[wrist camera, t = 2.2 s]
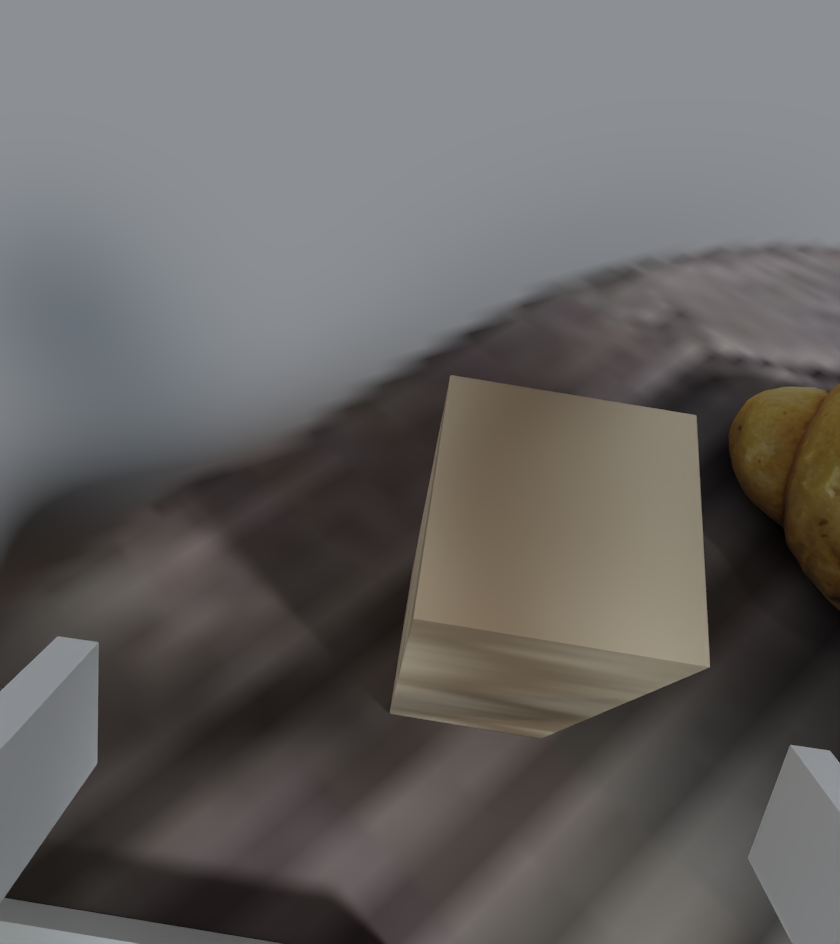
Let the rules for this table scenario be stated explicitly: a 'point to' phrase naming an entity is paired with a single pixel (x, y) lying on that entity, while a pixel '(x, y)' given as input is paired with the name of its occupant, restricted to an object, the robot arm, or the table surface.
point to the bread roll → (795, 473)
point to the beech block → (552, 561)
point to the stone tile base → (95, 928)
